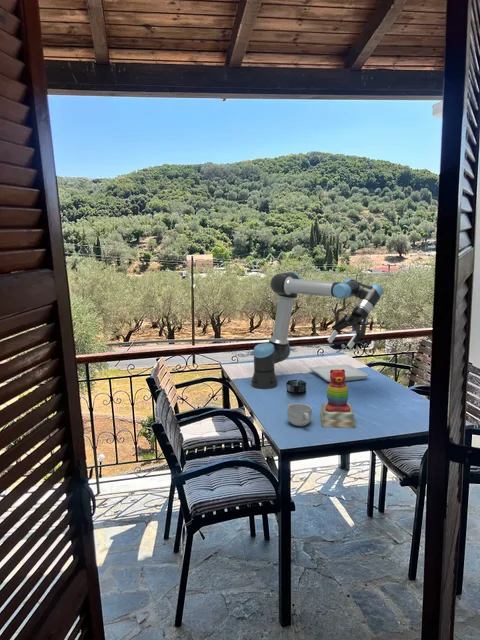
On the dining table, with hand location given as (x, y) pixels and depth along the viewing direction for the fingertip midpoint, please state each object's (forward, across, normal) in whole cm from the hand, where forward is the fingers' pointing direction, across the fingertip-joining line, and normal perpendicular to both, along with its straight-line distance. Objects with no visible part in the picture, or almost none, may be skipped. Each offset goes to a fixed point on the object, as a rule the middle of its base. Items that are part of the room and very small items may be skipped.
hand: (338, 344), depth 207 cm
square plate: (-2, +35, -47) cm, 59 cm away
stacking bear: (+28, -15, -7) cm, 32 cm away
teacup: (+44, -9, 0) cm, 44 cm away
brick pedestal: (+32, -15, -11) cm, 37 cm away
